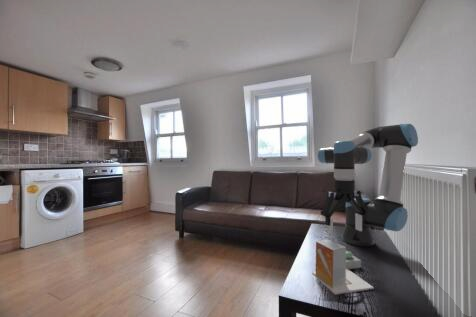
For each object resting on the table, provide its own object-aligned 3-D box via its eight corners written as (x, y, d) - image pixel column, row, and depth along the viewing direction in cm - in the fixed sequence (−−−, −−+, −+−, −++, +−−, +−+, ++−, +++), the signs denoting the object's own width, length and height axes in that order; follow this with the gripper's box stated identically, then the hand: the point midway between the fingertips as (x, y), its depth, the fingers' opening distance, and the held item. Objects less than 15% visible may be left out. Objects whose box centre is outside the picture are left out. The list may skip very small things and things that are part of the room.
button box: (348, 259, 92) (348, 252, 92) (360, 267, 86) (360, 260, 86) (334, 261, 91) (334, 254, 91) (346, 269, 84) (346, 261, 84)
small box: (315, 276, 78) (315, 241, 78) (328, 273, 80) (328, 238, 80) (332, 289, 70) (333, 249, 70) (346, 284, 73) (346, 247, 73)
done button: (347, 255, 90) (347, 250, 90) (353, 259, 87) (353, 253, 87) (341, 256, 90) (341, 251, 90) (346, 259, 86) (346, 254, 86)
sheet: (346, 269, 84) (346, 267, 84) (373, 289, 71) (373, 287, 71) (312, 273, 81) (312, 271, 81) (334, 294, 68) (334, 292, 68)
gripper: (362, 177, 91) (362, 225, 91) (311, 179, 86) (311, 231, 86) (377, 179, 84) (378, 231, 84) (322, 181, 78) (323, 238, 79)
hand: (344, 231), depth 85 cm, fingers open, 13 cm apart
